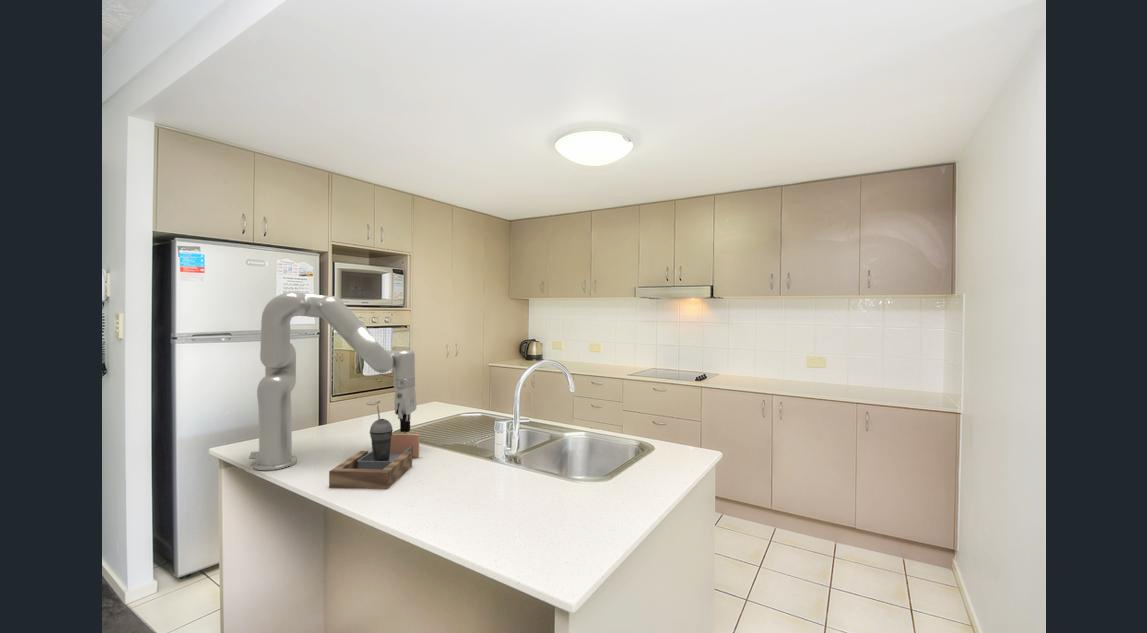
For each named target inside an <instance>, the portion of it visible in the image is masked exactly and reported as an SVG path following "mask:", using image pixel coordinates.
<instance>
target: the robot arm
mask: <svg viewBox="0 0 1147 633" xmlns="http://www.w3.org/2000/svg"><path fill="white" fill-rule="evenodd" d="M294 317H307V318H308V317H309V318H320V319H323V320H324V321H325V322H326V323H327V324H328V325H329V326H331V328H332V329H333V330H334V331H335V332H336V333H337V334H338V335H339V336H340V337H341V338H342V339H343V340H344V341H345V342H346V344H347V345H348V346H349V347H351V348H352V349H353V351H354V352H355V353H356V354H357V355H358V356H359V357H360V358H361V359H362V360H363V361H364V362H365V363H366V364H367V365H368V366H369V367H370V368H371V369H372V370H373V371H375V372H376V373H379V374H384V373H388V372H389V371H390V370H392V369H393V388H394V389H395V390H394V414H395V415H396V416H397V419H399V422H400V424H399V428H400V429H399V432H400V433H409V432H410V431H411V417H412V416H411V415H412V413H413V412H415V411H417V410H416V409H417V395H416V394H417V393H416V364H415V363H416V357H415V351H413V350H410V349H401V350H400V349H399V350H388V349H387V350H386V349H385V348H384V347H383V346H382V345H381V344H380V343H379V342H378V341H377V339H375V338H374V336H373V335H372V334H371V333H370V331H369V329H368V328H367V326H366V325H365V323H364V322H363V321H362V320H360V318H358V317H357V315H356V314H354V313H353V311H352V310H351V309H350V308H349V307H348V306H347V305H346V304H345V303H344V301H343V299H341V298H340V297H339V296H335V295H323V294H321V295H320V294H315V293H314V294H313V293H306V292H298V291H287V292H284V293H280V294H279V295H277V296H275V297H273V298H272V299H270V300H269V302H268V303H267V304H266V305H265V307H264V309H263V311H262V314H261V320H260V322H261V324H260V325H261V327H260V328H261V329H260V351H259V357H260V358H259V359H260V362H261V363H262V365H263V366H264V368H265V369H264V370H265V375H264V377H262V378H261V380H260V381H259V383H258V386H257V389H256V398H257V407H258V451H251V452H250V454H249V455H248V459H249V460H255V462H254V463H253V469H255V471H275V469H276V470H281V468H282V469H285V467H286V468H288V466H289V467H291V466H293V465H296V463H297V461H298V458H297V457H296V456H293V455H292V454H293V450H292V449H293V448H292V444H293V442H292V441H293V439H292V436H293V434H292V430H293V429H292V424H293V423H292V421H293V420H292V418H293V417H292V400H291V398H292V397H291V395H292V392H293V390H294V388H295V386H296V382H297V380H296V379H297V351H296V348H295V347H294V345H293V344H292V343H291V320H292V319H293V318H294Z"/></svg>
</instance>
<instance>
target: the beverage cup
mask: <svg viewBox="0 0 1147 633" xmlns="http://www.w3.org/2000/svg"><path fill="white" fill-rule="evenodd" d="M376 409H377V410H376V411H377V417H378V419H376V420H375V421H374V422H373V423H371V426H370V430H369V436H370V439H371V449H372V450H371V451H372V452H373V461H389V455H390V444H391V437H392V434H393V432H394V430H393V426H392V424H391V422H390V420H388V419H386V418H381V416H380V408H379V405H378V406H376Z"/></svg>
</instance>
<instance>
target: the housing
mask: <svg viewBox="0 0 1147 633" xmlns="http://www.w3.org/2000/svg"><path fill="white" fill-rule="evenodd" d="M368 453H369V451H368V450H360V451H358V452H357V453H355V454H354V455H352V456H350V457H349V458H348V459H345V460H344V461H343V462H342V463H340V464H338V465H337V466H335V467H334V468H332V469H331V470H329V472H328V482H329V483H328V487H329V489H331V488H332V489H364V488H368V489H367V490H369V489H371V488H372V489H373V490H375V489H376V490H388V489H389V488H390V487H391V486H393V484H394V483H396V482H397V481H398V480H399V479H400V478H401V477H402V476H403V475H404V474H405V473H406V472H408V471H409V470H410V469H411V468H413V457H412V452H404V453H403V454H401V455H400V456H399V457H398V458H396V459H395V460H394V461H393V462H391V463H390V464H389V465H388V466H386V467H385V468H384V469H383V470H381V469H356V461H357V460H359V459H360V458H362V457H363V456H365V455H366V454H368ZM409 468H410V469H409ZM407 470H408V471H407ZM372 489H371V490H372Z"/></svg>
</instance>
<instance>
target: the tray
mask: <svg viewBox="0 0 1147 633" xmlns="http://www.w3.org/2000/svg"><path fill="white" fill-rule="evenodd" d="M404 452H412V458H419V457H420V434H419V433H392V437H391V444H390V455H389V461H373V452H372V450H371V451H368V454H366V455H365V456H363V457H362V458H360V459H359V460H357V461H356V469H381V470H383V469H384V468H385V467H386V466H388V465H389V464H390V463H391V462H393V461H394V460H395V459H396V458H398V457H399V456H400V455H401V454H403V453H404Z"/></svg>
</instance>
